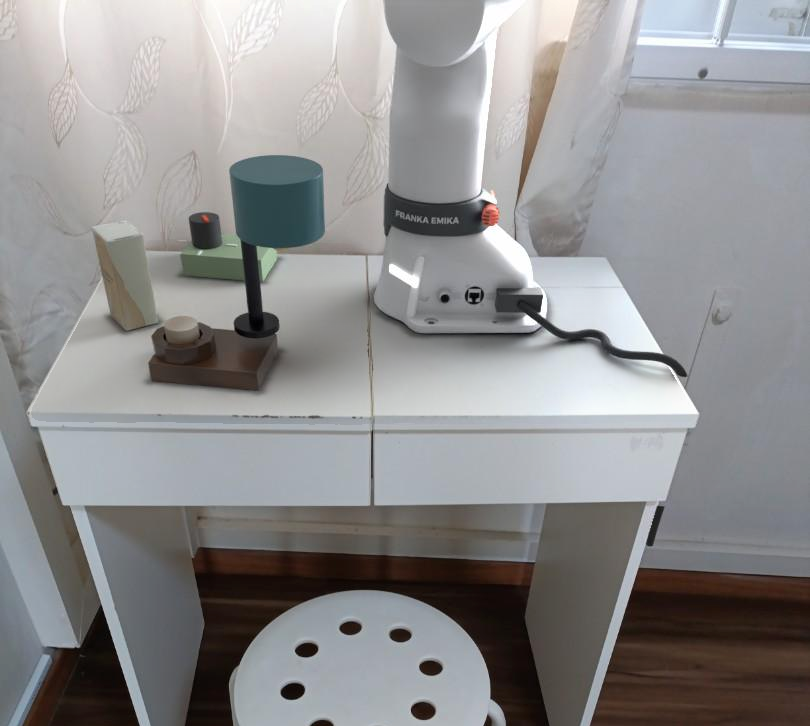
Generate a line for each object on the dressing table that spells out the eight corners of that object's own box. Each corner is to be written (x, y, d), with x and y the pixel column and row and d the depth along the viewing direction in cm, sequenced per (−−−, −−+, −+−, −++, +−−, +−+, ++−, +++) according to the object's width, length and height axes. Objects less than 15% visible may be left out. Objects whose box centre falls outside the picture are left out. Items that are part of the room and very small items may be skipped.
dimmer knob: (189, 239, 109) (185, 211, 107) (218, 236, 110) (215, 208, 108) (195, 250, 106) (191, 222, 104) (225, 247, 108) (221, 218, 105)
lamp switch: (204, 331, 88) (202, 317, 87) (194, 347, 86) (191, 332, 85) (172, 329, 89) (170, 314, 87) (161, 344, 86) (158, 329, 85)
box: (110, 315, 98) (89, 225, 91) (143, 307, 100) (125, 218, 93) (126, 332, 95) (106, 240, 88) (160, 323, 97) (143, 232, 90)
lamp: (335, 315, 91) (330, 158, 80) (319, 353, 85) (312, 187, 73) (246, 308, 92) (229, 151, 81) (223, 345, 85) (201, 179, 74)
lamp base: (278, 350, 93) (275, 319, 90) (258, 390, 86) (255, 357, 84) (176, 341, 94) (171, 310, 91) (149, 380, 87) (142, 347, 84)
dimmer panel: (277, 258, 113) (275, 236, 111) (262, 282, 107) (260, 259, 105) (191, 251, 114) (187, 229, 112) (171, 275, 108) (167, 251, 106)
